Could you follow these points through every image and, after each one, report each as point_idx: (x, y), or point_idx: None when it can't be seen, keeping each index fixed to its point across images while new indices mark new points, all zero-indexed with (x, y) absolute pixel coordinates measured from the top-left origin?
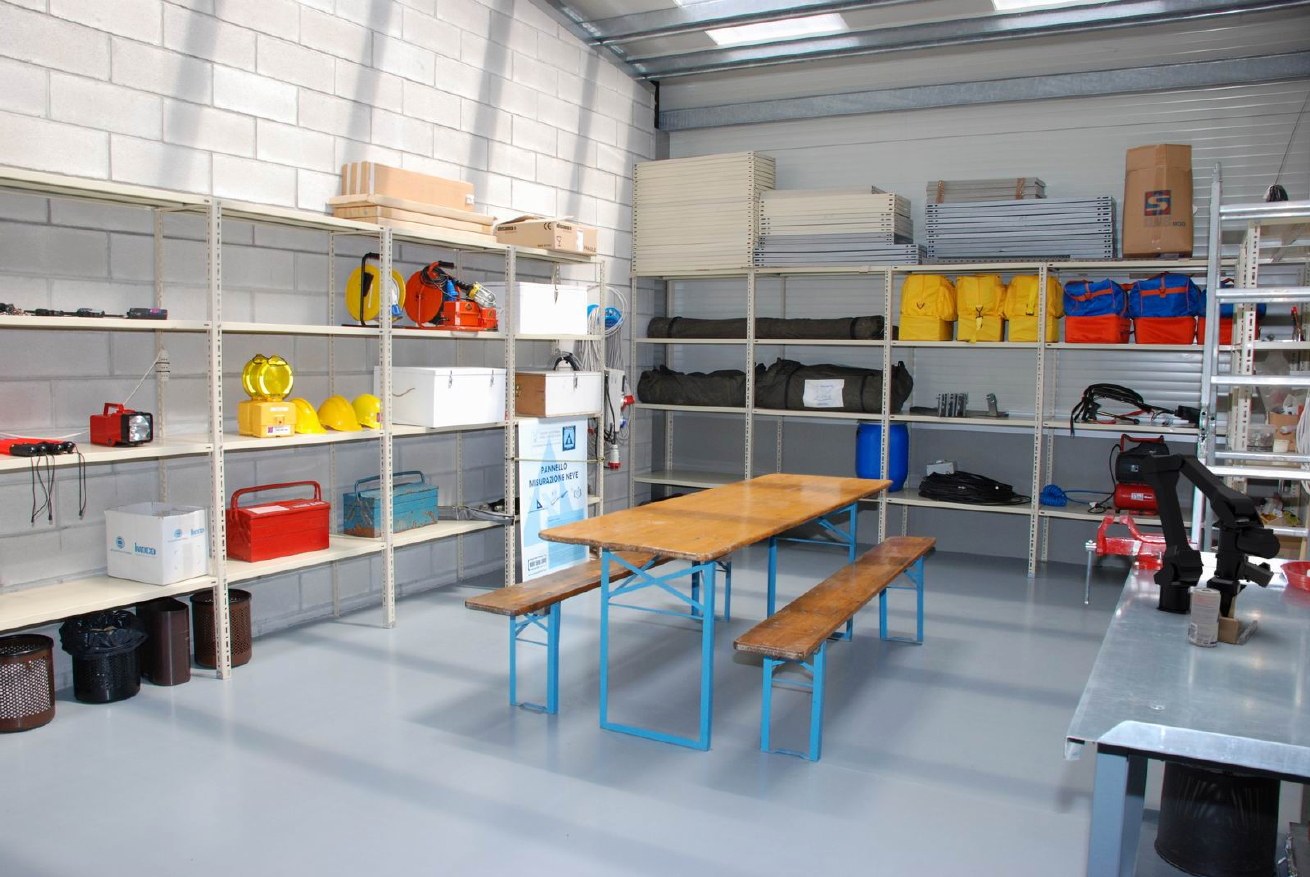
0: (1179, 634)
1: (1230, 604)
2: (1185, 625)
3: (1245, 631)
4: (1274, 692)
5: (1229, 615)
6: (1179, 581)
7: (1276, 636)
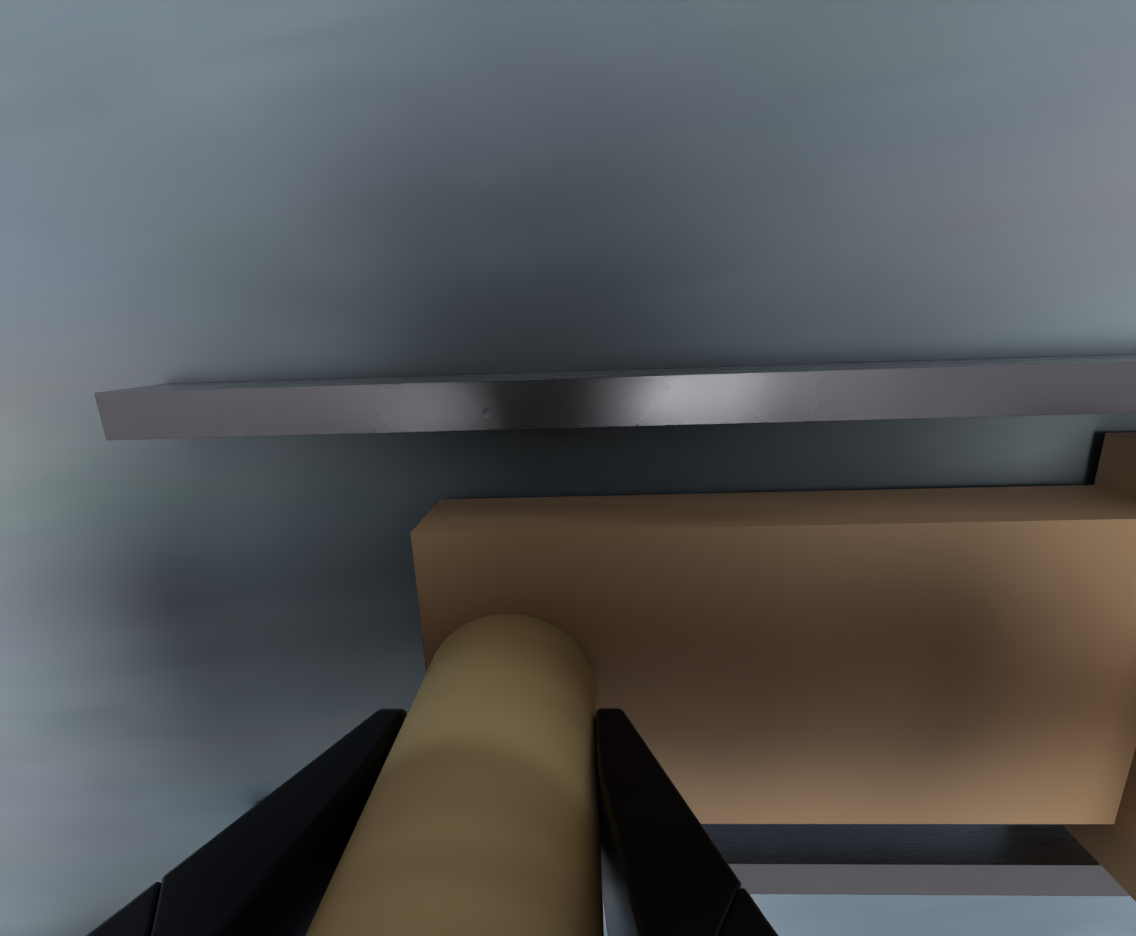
0: None
1: (760, 914)
2: None
3: (848, 409)
4: None
5: (582, 711)
6: None
7: (428, 101)
